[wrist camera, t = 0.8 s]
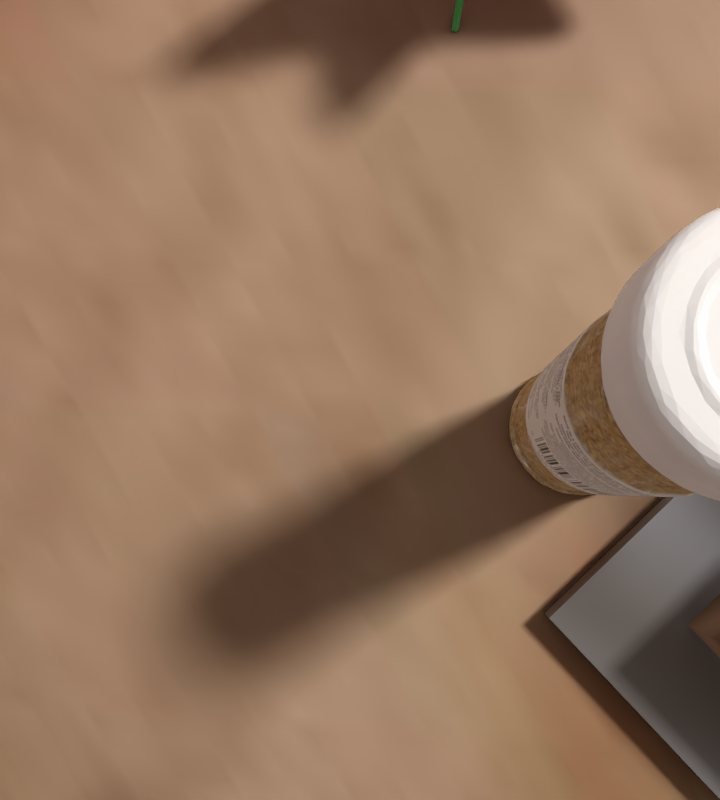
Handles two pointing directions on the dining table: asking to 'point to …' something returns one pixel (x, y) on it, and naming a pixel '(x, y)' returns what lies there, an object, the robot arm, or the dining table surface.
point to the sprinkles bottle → (636, 385)
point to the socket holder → (659, 625)
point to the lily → (457, 15)
